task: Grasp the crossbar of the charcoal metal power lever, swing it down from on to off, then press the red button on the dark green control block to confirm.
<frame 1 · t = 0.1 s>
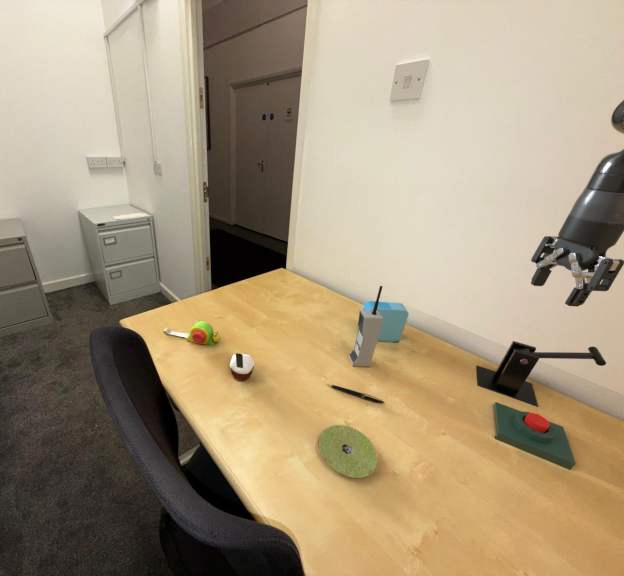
hand: (552, 294, 61), 30 cm above the table, tool pointing down, fingers open, 8 cm apart
cupcake: (240, 377, 80), on the table
switch bracket: (503, 387, 78), on the table
control block: (526, 436, 66), on the table
switch lever: (555, 355, 69), point 13 cm above the table, hinge at 25.0°
green grinding wheel: (345, 455, 61), on the table
fountain pen: (353, 395, 75), on the table
confirm button: (536, 422, 64), point 4 cm above the table, slide at 0.1 cm
toy measuring tape: (191, 338, 95), on the table
vintage mobile phone: (358, 363, 86), on the table
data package: (377, 337, 97), on the table
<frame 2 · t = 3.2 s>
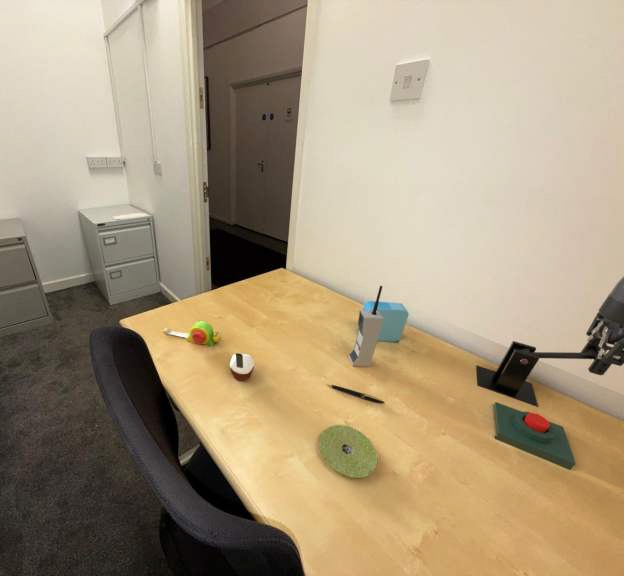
hand: (590, 364, 67), 14 cm above the table, tool pointing down, fingers closed on switch lever, 5 cm apart
switch lever: (555, 355, 69), point 13 cm above the table, hinge at 24.9°, touching gripper
everything else where it was.
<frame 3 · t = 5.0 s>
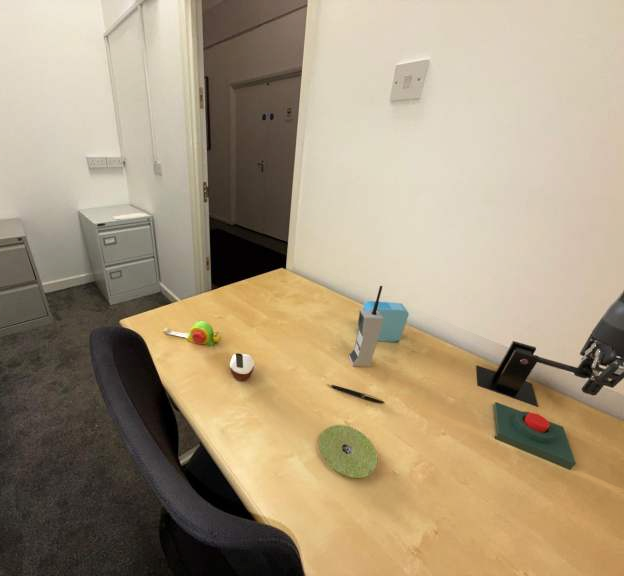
hand: (583, 384, 69), 8 cm above the table, tool pointing down, fingers closed on switch lever, 5 cm apart
switch lever: (553, 363, 70), point 11 cm above the table, hinge at 0.6°, touching gripper
everything else where it was.
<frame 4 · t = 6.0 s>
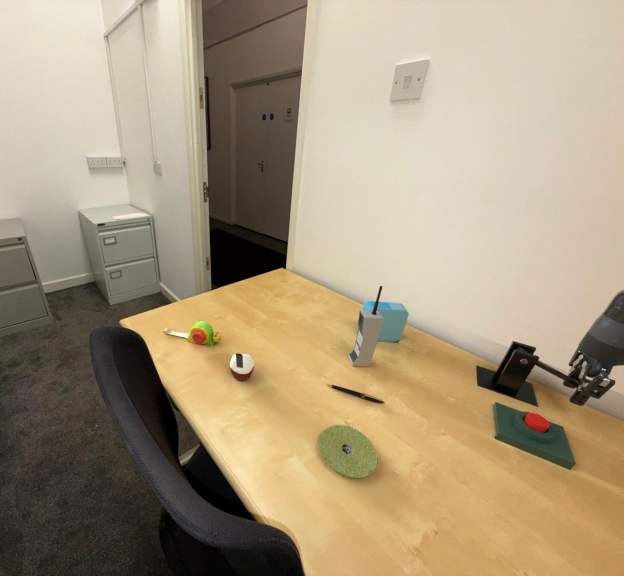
hand: (571, 394, 71), 5 cm above the table, tool pointing down, fingers closed on switch lever, 5 cm apart
switch lever: (548, 368, 71), point 9 cm above the table, hinge at -16.5°, touching gripper
everything else where it was.
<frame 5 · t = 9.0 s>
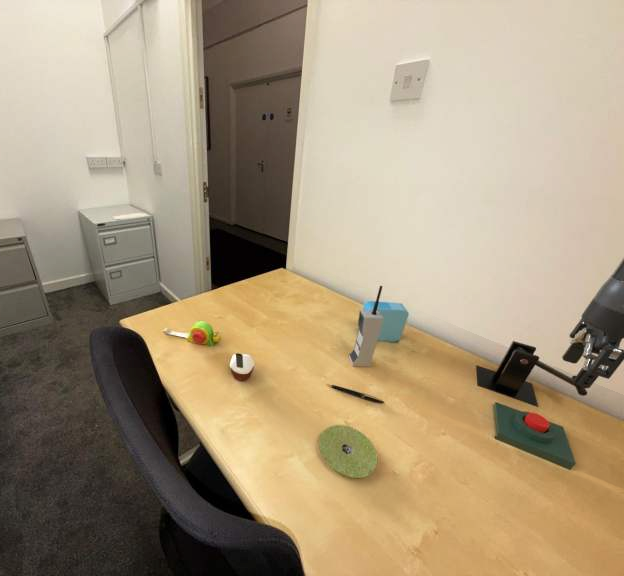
hand: (573, 372, 61), 16 cm above the table, tool pointing down, fingers open, 8 cm apart
switch lever: (548, 368, 71), point 9 cm above the table, hinge at -16.9°
everything else where it was.
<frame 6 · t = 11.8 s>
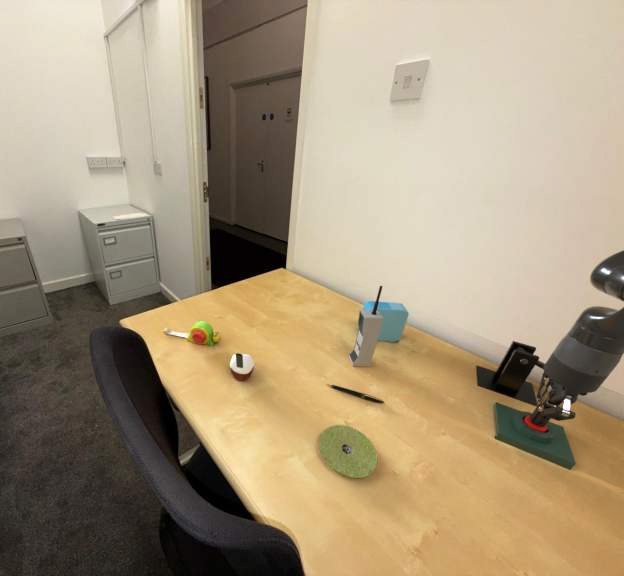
hand: (536, 422, 64), 4 cm above the table, tool pointing down, fingers closed
confirm button: (534, 425, 64), point 4 cm above the table, slide at -0.8 cm, touching gripper
everything else where it was.
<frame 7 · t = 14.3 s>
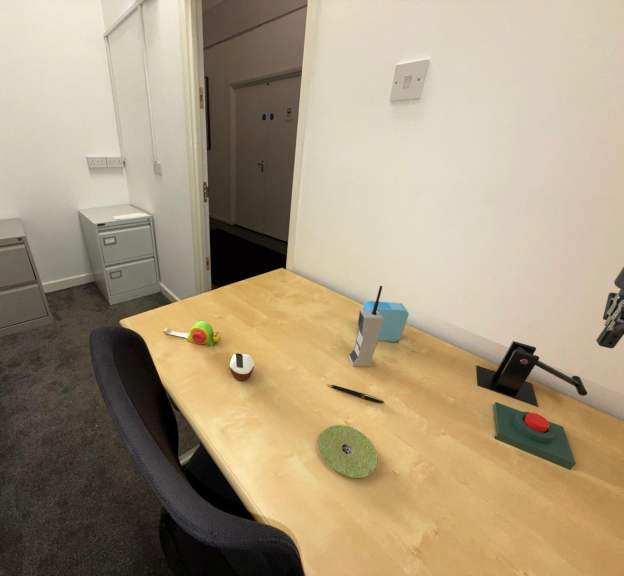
hand: (603, 345, 61), 21 cm above the table, tool pointing down, fingers closed
confirm button: (536, 422, 64), point 4 cm above the table, slide at 0.1 cm
everything else where it was.
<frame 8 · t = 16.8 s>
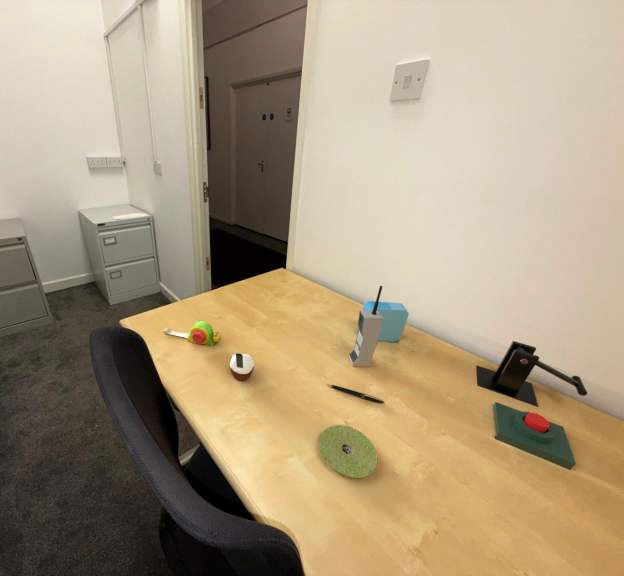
nothing on the table moved.
at the end: switch lever at -17° (first picture: +25°); confirm button pushed in 1.1 cm at the most during the clip, back to where it started at the end; confirm button slide at 0.1 cm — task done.
